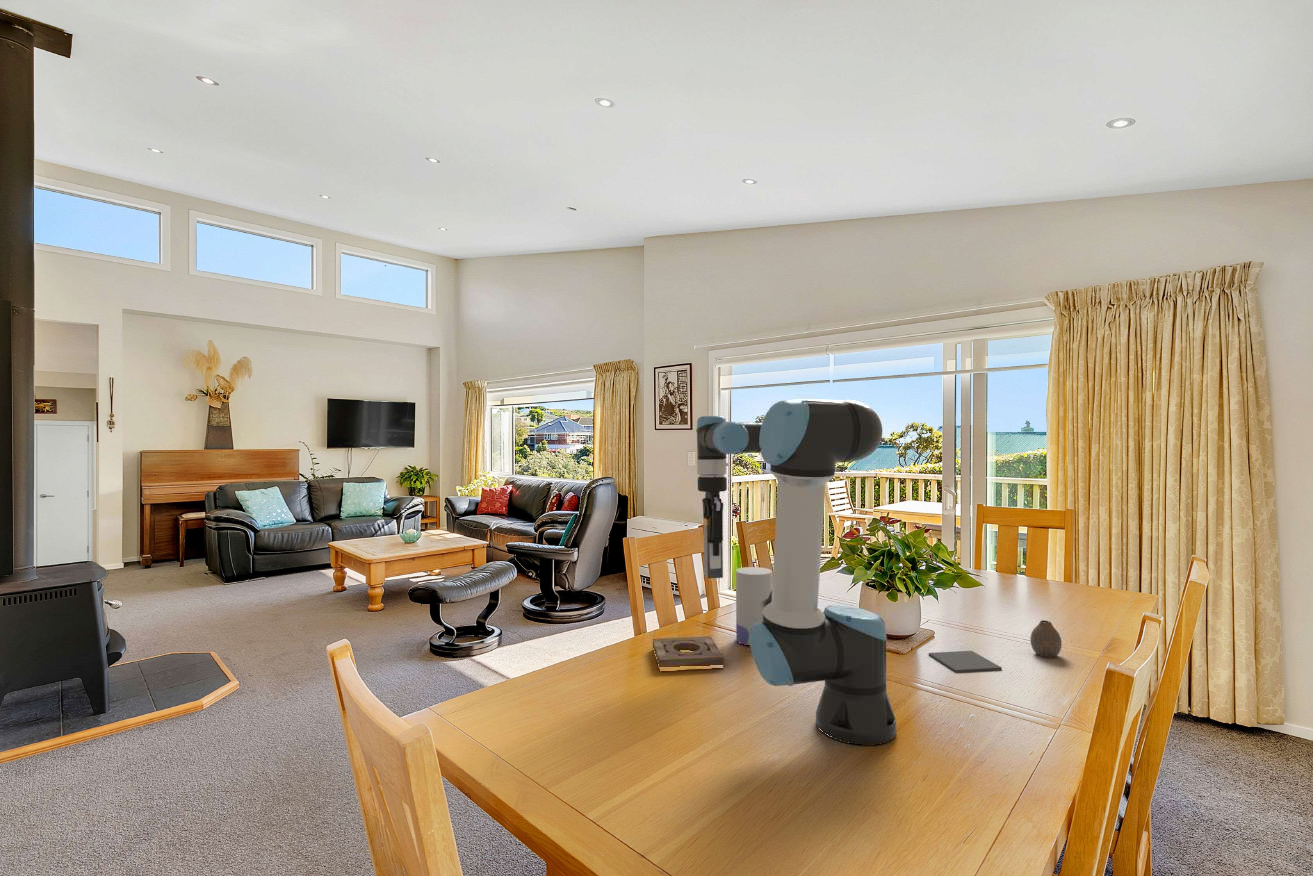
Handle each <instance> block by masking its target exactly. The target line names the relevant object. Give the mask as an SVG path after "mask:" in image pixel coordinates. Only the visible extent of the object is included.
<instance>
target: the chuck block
mask: <svg viewBox="0 0 1313 876" xmlns="http://www.w3.org/2000/svg"><path fill="white" fill-rule="evenodd" d="M653 648H654V651H655V654H656V657H657V661H658V664H659V667H680V666H710V665H724V664H725V663H724V660H725V659H724V655H723V654H722V651H721V650H720V649H719V647H718V646H717V644H716V643H715V640H714V638H713V637H712V636H711V635H708V636H706V635H705V636H687V637H686V636H684V637H681V636H680V637H666V638H665V637H663V638H660V637H659V638H652V649H653ZM680 650H690V651H693V652H681V651H680Z"/></svg>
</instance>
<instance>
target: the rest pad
mask: <svg viewBox="0 0 1313 876" xmlns="http://www.w3.org/2000/svg"><path fill="white" fill-rule="evenodd" d="M928 656H929V657H931V658H933V659H934V660H935V661H937V662H938V663H940V664H942V665H943V666H945V667H946V668H948V669H949V670H951V671H953V672H954V673H968V672H969V673H970V672H971V673H973V672H986V671H987V672H989V671H1003V667H1002V666H1000V665H998V664H996V663H994V662H993V661H991V660H990V659H987V658H986V657H984V656H982V655H980V654H978V653H977V652H974V651H973V650H961V651H957V650H956V651H941V652H928Z"/></svg>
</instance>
